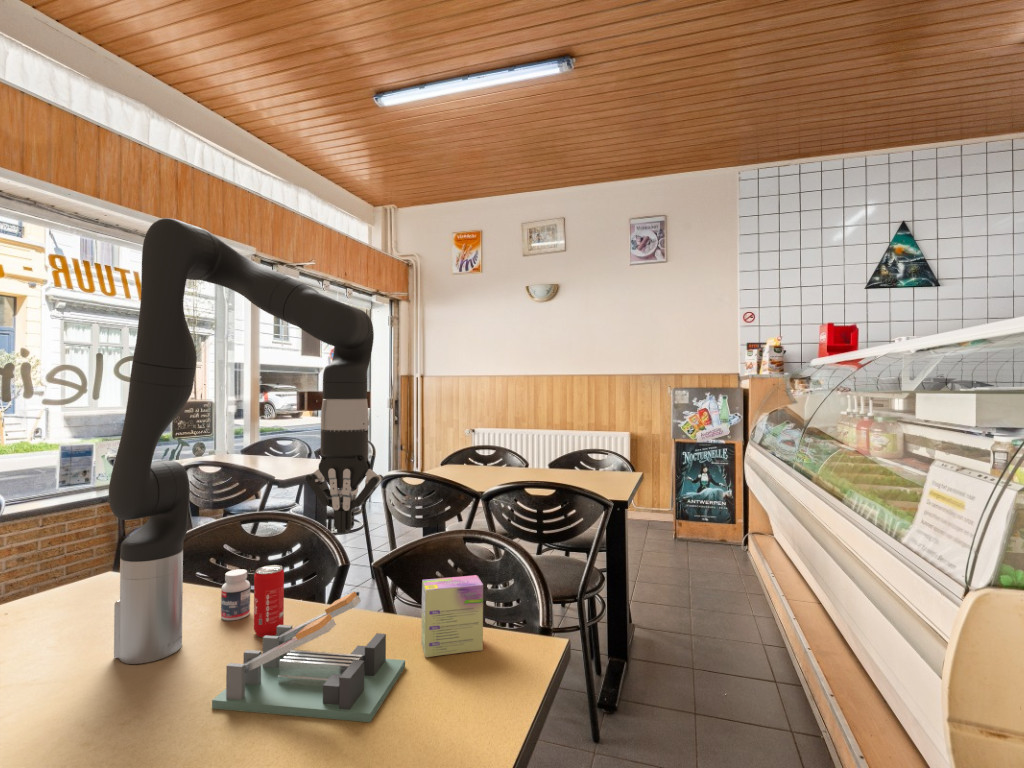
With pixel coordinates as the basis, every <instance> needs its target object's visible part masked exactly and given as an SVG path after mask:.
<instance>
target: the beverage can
mask: <svg viewBox="0 0 1024 768" xmlns="http://www.w3.org/2000/svg"><path fill="white" fill-rule="evenodd" d="M283 568H284V567H283V566H282V565H279V564H278V565H277V564H272V565H264V566H261V567H258V568H257V569H255V573H254V575H253V581H254V582H253V583H254V584H253V631H254V632H255V635H256V636H257V637H259V638H263V637H264V636H265V635H268V636H277V626H278V625H285V624H284V622H285V621H284V620H285V619H284V615H285V611H284V609H285V607H284V606H285V605H284V604H285V601H284V600H285V571H284V569H283Z"/></svg>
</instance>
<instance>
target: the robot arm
mask: <svg viewBox="0 0 1024 768" xmlns="http://www.w3.org/2000/svg"><path fill="white" fill-rule="evenodd" d="M187 280H189V281H190V280H191V281H203V282H207V283H209V284H214V285H217V286H221V287H223V288H226V289H229V290H231V291H233V292H235V293H237V294H239V295H241V296H243V298H245V299H246V300H248V301H249V302H251V303H252V304H253V305H254V306H256V307H257V308H258V309H260V310H262V311H264V312H265V313H267V314H269V315H271V316H273V317H275V318H277V319H279V320H281V321H284V322H285V323H288V324H290V325H292V326H295V327H298V328H300V329H301V330H302V331H304V332H305V333H307V334H308V335H310V336H312V337H313V338H315V339H317V340H318V341H321V342H323V343H325V344H327V345H328V346H332V347H333V355H332V361H331V363H329V364H327V365H326V366H325V367H324V369H323V372H322V373H323V374H322V402H321V403H322V404H321V409H320V456H321V459H320V462H319V463H318V469H316V470H315V471H314V472H313V473H311V474H307V475H306V476H305V481H306V482H307V484H308V486H309V487H310V488H311V490H312V491H313V493H314V494H315V495H316V496H317V499H318V500H319V501H320V503H321V504H322V505H323V506H324V507H329V508H332V510H333V528H334V530H336V533H337V534H348V533H349V532H351V530H352V529H353V528H354V526H355V509H356V508H359V507H360V506H362V505H364V504H366V503H367V501H369V499H370V497H372V495H373V494H374V492H375V491H376V490H377V488H378V487H379V486H380V484H381V483H382V482H383V480H384V477H383V475H382V474H377V472H375V471H373V469H371V468H372V467H371V463H370V460H369V429H370V428H369V427H370V419H369V418H370V417H369V416H370V415H369V405H368V370H369V367H370V361H371V357H372V352H373V346H374V338H375V337H374V335H375V334H374V331H375V330H374V325H373V321H372V320H371V318H370V316H369V315H368V314H367V312H365V311H364V310H362V309H361V308H357V307H354V306H352V305H349V304H346V303H343V302H341V301H339V300H336V299H334V298H331V297H329V296H327V295H324V294H322V293H320V292H319V291H318V290H317V289H314V288H313V287H312V286H310V285H308V284H306V283H303V282H300V281H299V280H297V279H295V278H292V277H290V276H288V275H286V274H283V273H281V272H279V271H277V270H274V269H271V268H269V267H267V266H264V265H261V264H259V263H258V262H256V261H253V260H252V259H250V258H248V257H247V256H245V255H243V254H241V253H240V252H238V251H237V250H236V249H234V248H233V247H231V246H230V245H228V244H227V243H225V242H224V241H222V240H221V239H220V238H218V237H217V236H216V235H215V234H213V233H211V232H210V231H209V230H207V229H205V228H202V227H200V226H196V225H193V224H190V223H187V222H184V221H181V220H179V219H175V218H171V217H164V218H159V219H158V220H156V221H154V222H153V223H152V224H151V225H150V227H149V228H148V229H147V231H146V234H145V237H144V238H143V244H142V251H141V280H140V281H141V284H140V285H141V286H140V287H141V290H140V304H139V305H140V306H139V313H138V314H139V315H138V323H137V334H136V339H135V346H134V351H133V357H132V361H131V362H132V363H131V369H130V376H129V377H130V378H129V387H128V395H127V396H128V397H127V401H126V410H125V416H124V421H123V426H122V432H121V437H120V439H119V443H118V448H117V452H116V455H115V459H114V462H113V466H112V471H111V475H110V480H109V485H108V502H109V507H110V510H111V512H112V513H113V516H114V517H116V518H117V519H119V520H123V521H130V520H131V521H132V520H139V519H143V518H148V519H147V521H146V522H145V524H144V525H142V527H140V528H139V529H138V530H137V531H136V532H134V533H132V534H131V535H129V536H128V537H126V538H125V539H124V540H123V541H122V542H121V544H120V549H119V550H120V551H119V554H120V555H119V557H120V560H119V562H120V565H119V566H120V567H119V599H118V600H116V601H115V602H114V611H113V612H114V614H113V616H114V617H113V618H114V619H113V621H114V622H113V623H114V625H113V627H114V629H113V658H114V659H119V661H120V662H122V663H123V664H126V665H127V664H128V665H129V664H130V665H136V664H137V665H140V664H146V663H151V662H155V661H158V660H161V659H165V658H167V657H169V656H172V655H174V654H175V653H176V652H178V651H179V650H180V649H181V648H182V646H183V601H184V600H183V595H184V594H183V593H184V592H183V590H184V589H183V588H184V585H183V584H184V583H183V582H184V581H183V580H184V578H183V577H184V576H183V575H184V572H183V571H184V565H183V563H184V562H183V561H184V541H185V538H186V535H187V533H188V523H189V522H188V520H189V507H190V506H189V505H190V497H191V496H190V494H191V491H190V490H191V489H190V479H189V478H190V477H189V475H188V473H187V471H186V469H185V467H184V465H182V464H181V463H180V462H177V461H174V460H164V461H157V462H156V461H155V462H152V461H153V458H154V454H155V451H156V448H157V445H158V443H159V441H160V439H161V437H162V435H163V434H164V432H165V431H166V429H167V428H168V427H169V425H170V424H171V423H172V422H173V421H174V420H175V418H176V417H177V416H178V415H179V413H180V412H181V411H182V409H183V408H184V407H185V406H186V404H187V402H188V401H189V399H190V397H191V395H192V392H193V388H194V383H195V376H196V375H195V374H196V369H197V362H198V360H197V358H198V357H197V350H196V346H195V342H194V340H193V337H192V333H191V330H190V328H189V326H188V323H187V319H186V316H185V315H186V314H185V309H184V300H185V299H184V297H185V291H186V290H185V289H186V285H187ZM364 479H365V480H364ZM363 481H364V482H365V486H364V487H363V488H362V490H361V491H360V492H359V486H360V485H361V483H362V482H363ZM326 483H327V484H328V485H327V484H326ZM358 492H359V494H358Z"/></svg>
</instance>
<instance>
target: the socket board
mask: <svg viewBox="0 0 1024 768" xmlns="http://www.w3.org/2000/svg"><path fill="white" fill-rule="evenodd" d="M291 629H293V625H286V624H283V625H278V626H277V635H275V636H268V635H265V636H264V637H262V650H253V649H252V650H251V649H246V650H245V651H243V663H235V662H234V663H233V662H230V663H228V664H226V668H225V669H226V672H225V674H226V680H225V681H226V682H225V683H226V685H225V686H226V688H225V689H224V690H222V691H221V692H220V693H219V694H218V695H216V696H215V697H214V698H213V699H212V700H211V709H214V710H215V709H216V710H223V711H225V710H227V711H238V712H246V713H247V712H249V713H260V714H271V715H272V714H273V715H284V716H295V717H305V718H317V719H327V720H340V721H350V722H352V721H353V722H363V723H371V722H372V720H373V718H374V717H375V716H376V714H377V713H378V710H379V709H380V707H381V706H382V704H383V703H384V701H385V700H386V699H387V696H389V693H390V692H391V691H392V688H393V687H394V686H395V684H396V682H397V681H398V680H399V678H400V676H401V675H402V674H403V672H404V671H405V668H406V659H394V658H387V655H386V654H387V650H386V649H387V634H386V633H382V632H380V633H378V632H377V633H376V634H374V636H373V637H372V638H371V640H369V641H368V643H367V644H366V645H360V644H359V645H358V644H357V646H356V647H355V648H354V649H353V650H352V651H351V652H350V654H355V655H363V661H361V660H354V661H353V662H352V663H351V664H350V665H349V667H348V668H347V669H346V670H345V671H344V673H343V674H332V676H331V677H330V678H329V679H328V680H327V681H326V682H325V683H324V685H323V687H319V686H306V685H294V684H281V683H278V677H279V661H280V660H281V659H283V657H284V656H286V654H288V653H290V651H289V652H287V653H285V654H283V655H281V656H279V657H277V658H275V659H273V660H271V661H269V662H267V663H265V664H263V665H261V666H259V667H257V668H255V669H253V670H251V671H249V672H247V673H245V664H244V663H245V662H246V661H247V660H251V659H253V658H255V657H257V656H259V655H261V654H263V653H265V652H267V651H269V650H271V649H273V648H275V647H277V646H279V645H281V644H283V643H285V642H287V641H289V640H291V639H293V638H291V639H289V640H287V641H285V642H283V643H281V644H279V636H278V635H280V634H281V633H285V632H287V631H289V630H291Z"/></svg>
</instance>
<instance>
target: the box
mask: <svg viewBox="0 0 1024 768" xmlns="http://www.w3.org/2000/svg"><path fill="white" fill-rule="evenodd" d="M421 581H422V582H421V633H420V634H421V639H420V640H421V645H422V646H421V647H422V650H423V653H424V657H425V658H431V657H440V656H444V655H445V656H446V655H451V654H462V653H468V652H469V653H471V652H477V651H478V652H481V651H483V650H484V649H483V648H484V647H483V646H484V644H483V643H484V641H483V640H484V639H483V637H484V583H483V582H482V581H481V579H480V577H479V576H478V575H476V574H474V575H464V576H452V577H439V578H430V579H428V578H426V579H422V580H421Z"/></svg>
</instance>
